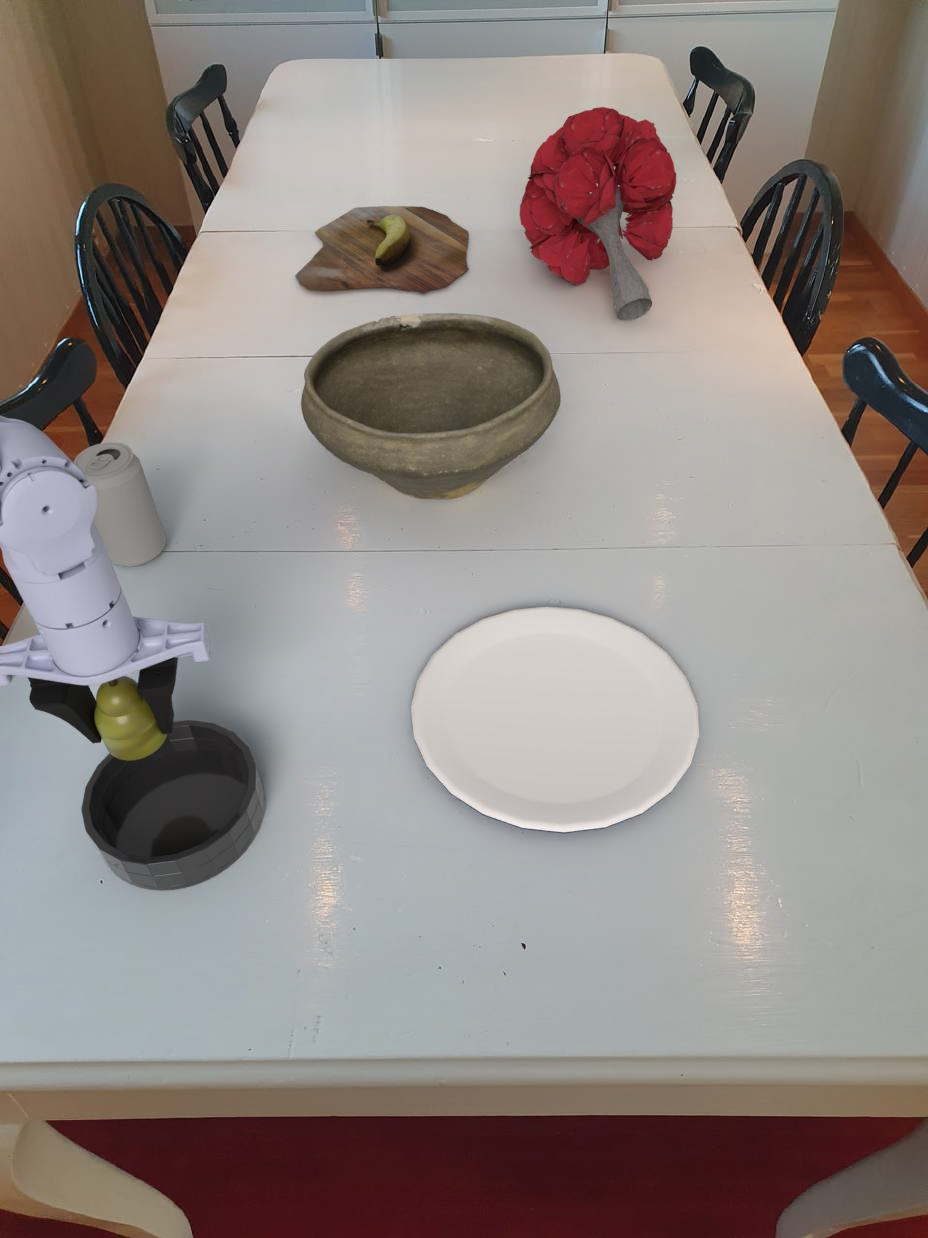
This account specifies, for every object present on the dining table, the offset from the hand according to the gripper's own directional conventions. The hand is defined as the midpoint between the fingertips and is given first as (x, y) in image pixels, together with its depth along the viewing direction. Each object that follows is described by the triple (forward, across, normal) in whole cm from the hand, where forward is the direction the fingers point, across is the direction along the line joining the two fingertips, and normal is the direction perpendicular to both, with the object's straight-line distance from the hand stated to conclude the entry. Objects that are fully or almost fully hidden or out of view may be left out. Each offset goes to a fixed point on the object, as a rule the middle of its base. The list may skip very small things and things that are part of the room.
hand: (134, 728), depth 68 cm
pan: (+9, -2, +2) cm, 9 cm away
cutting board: (+9, -28, -103) cm, 107 cm away
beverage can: (+9, +5, -32) cm, 34 cm away
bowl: (+9, -28, -41) cm, 50 cm away
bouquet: (+9, -58, -84) cm, 103 cm away
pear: (+1, 0, 0) cm, 1 cm away
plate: (+9, -33, -3) cm, 35 cm away
